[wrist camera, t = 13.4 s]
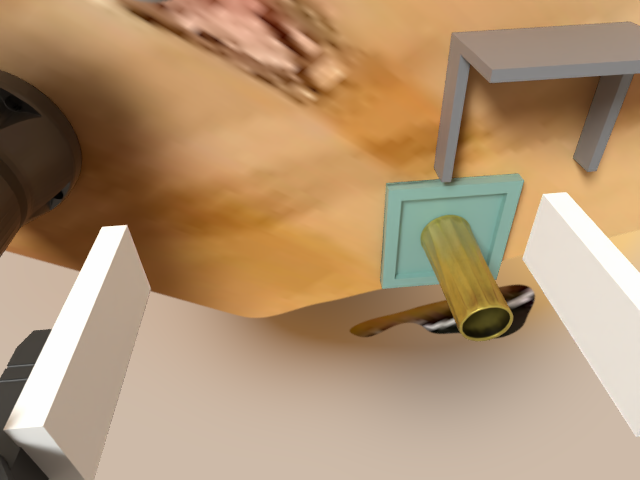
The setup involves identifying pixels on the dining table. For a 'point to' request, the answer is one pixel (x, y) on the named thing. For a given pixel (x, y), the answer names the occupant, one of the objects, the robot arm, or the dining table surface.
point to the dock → (543, 76)
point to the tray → (439, 200)
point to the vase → (465, 279)
